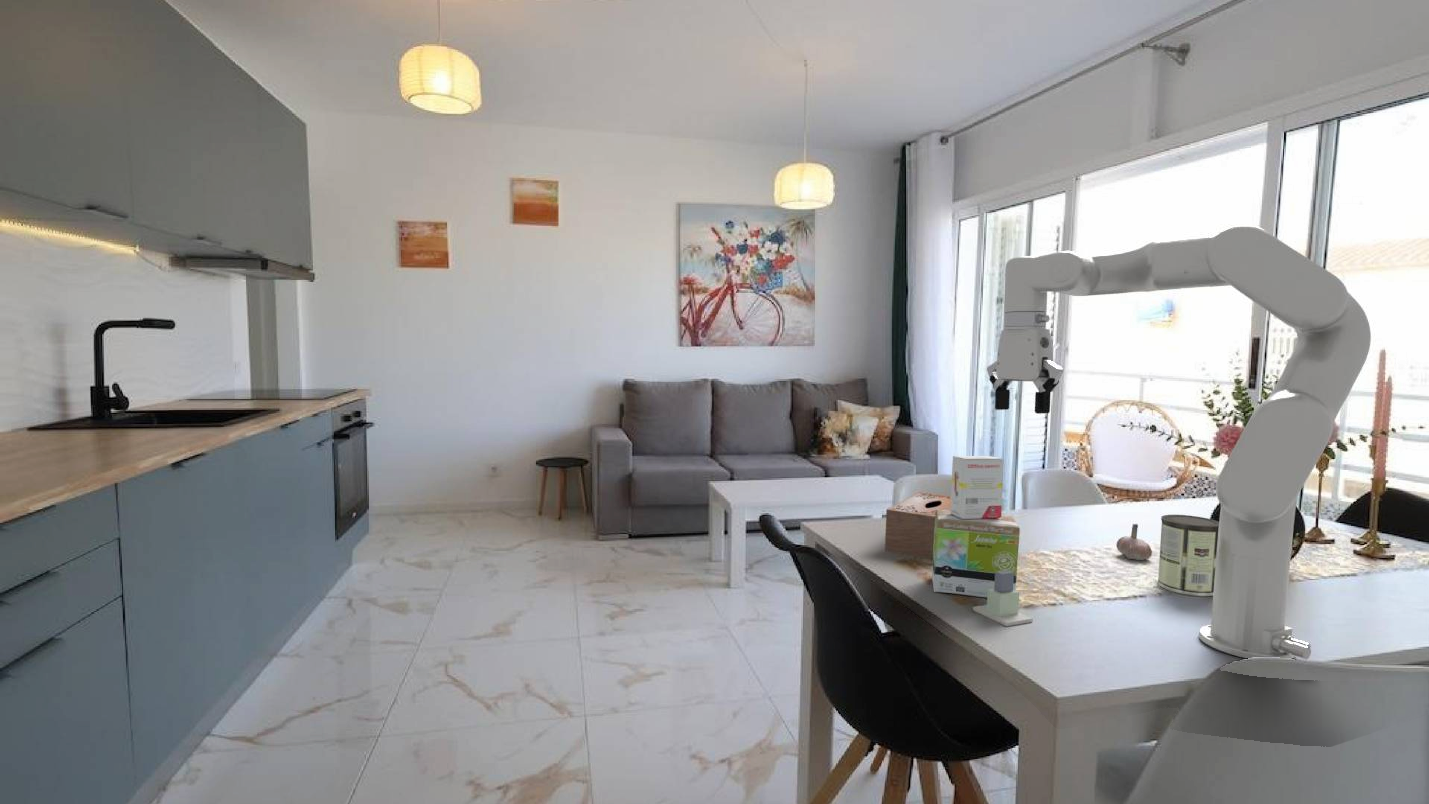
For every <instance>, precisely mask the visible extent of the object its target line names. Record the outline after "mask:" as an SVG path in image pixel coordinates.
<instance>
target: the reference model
mask: <svg viewBox="0 0 1429 804" xmlns="http://www.w3.org/2000/svg"><path fill="white" fill-rule="evenodd" d="M1013 582H1014V572H1011V571H1008V570H1003V571H996V572H995V584H994V589H988V595H987V600H986V604H984V605H977V606H973V607H972V611H974V612H976V613H978V614H980V615H982V616H984V617H986V618H988V619H990V620H993V621H995V622H996V623H998V624H1001V625H1003V626H1005V627H1009V626H1010V627H1011V626H1016V625H1017V626H1018V625H1021V624H1028V623H1032V622H1033V621H1034V620H1033V618H1032V617H1031V616H1028V615H1025V614H1024V613H1021V612H1019V610H1020V609H1019V608H1020V591H1017V589H1015V590H1013Z"/></svg>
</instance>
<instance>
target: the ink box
mask: <svg viewBox="0 0 1429 804" xmlns="http://www.w3.org/2000/svg"><path fill="white" fill-rule="evenodd" d="M1004 462H1005V461H1004V459H1002V458H1001V457H996V456H991V455H953V456H952V466H951V467H952V469H951V486H950V496H951V505H950V513H951V514H953V515H955V516H957V517H959V518H961V519H985V518H1001V515H1002V513H1003V512H1002V511H1003V489H1004V488H1003V484H1004Z"/></svg>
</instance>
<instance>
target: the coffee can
mask: <svg viewBox="0 0 1429 804" xmlns="http://www.w3.org/2000/svg"><path fill="white" fill-rule="evenodd" d="M1160 520H1161V527H1160V528H1161V529H1160V530H1161V531H1160V547H1159V558H1158V559H1159V560H1158V575H1157V576H1158V577H1157V585H1158V586H1159V587H1160V586H1161V588H1162V589H1164V588H1165V589H1164V590H1167V591H1169V592H1173V593H1177V594H1181V595H1185V596H1196V597H1213V592H1214V579H1215V566H1216V553H1217V542H1218V530H1219V521H1218V520H1215V519H1212V518H1209V517H1208V518H1207V517H1203V516H1195V515H1189V514H1188V515H1187V514H1186V515H1185V514H1166V515H1162V516H1160Z"/></svg>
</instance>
